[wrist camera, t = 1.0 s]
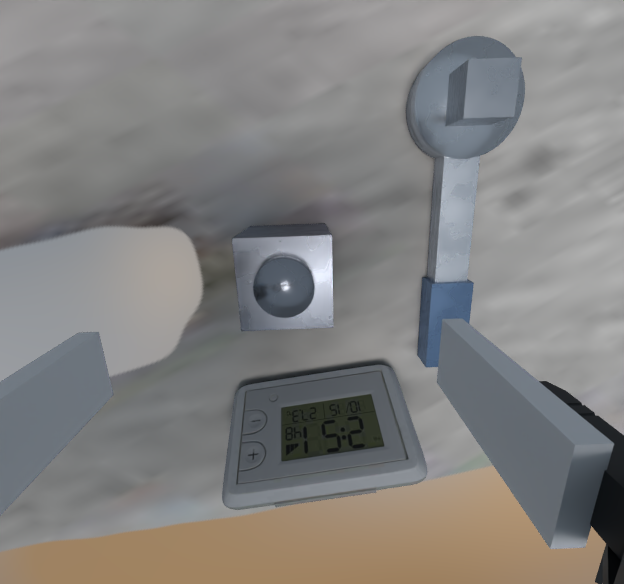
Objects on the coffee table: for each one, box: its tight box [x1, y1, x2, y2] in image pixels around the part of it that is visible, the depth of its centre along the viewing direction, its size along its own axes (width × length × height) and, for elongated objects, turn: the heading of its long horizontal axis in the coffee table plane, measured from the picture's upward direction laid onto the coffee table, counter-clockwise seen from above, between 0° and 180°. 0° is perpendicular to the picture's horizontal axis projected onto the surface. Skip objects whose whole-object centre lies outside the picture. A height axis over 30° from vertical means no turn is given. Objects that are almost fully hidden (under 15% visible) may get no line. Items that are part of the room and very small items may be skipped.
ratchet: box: [406, 36, 525, 367], centre depth 27 cm, size 8×26×6 cm, turn 2°
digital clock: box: [222, 365, 427, 510], centre depth 30 cm, size 16×9×11 cm, turn 88°
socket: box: [232, 223, 333, 331], centre depth 26 cm, size 6×6×9 cm
